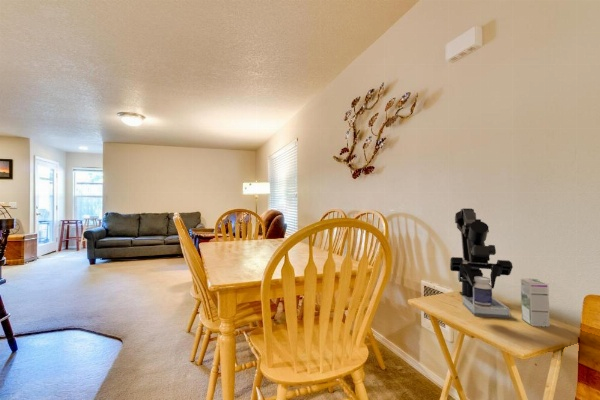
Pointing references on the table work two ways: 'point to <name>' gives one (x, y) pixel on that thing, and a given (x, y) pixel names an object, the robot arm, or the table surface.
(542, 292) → the syrup box
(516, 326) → the table surface
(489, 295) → the pill bottle
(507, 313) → the tray
